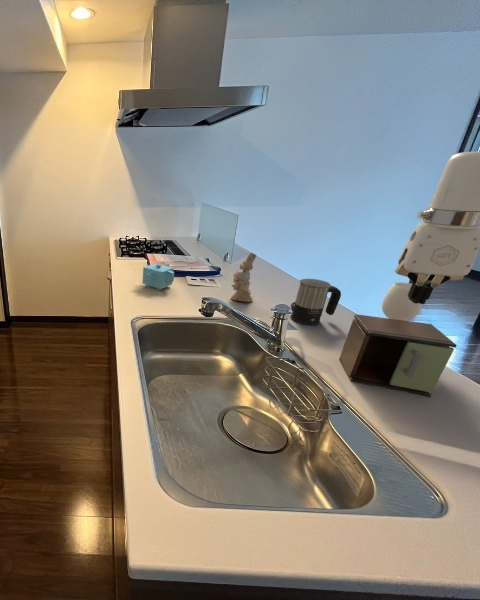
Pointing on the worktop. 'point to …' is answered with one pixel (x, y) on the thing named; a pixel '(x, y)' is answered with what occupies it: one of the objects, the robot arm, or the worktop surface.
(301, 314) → the milk frother
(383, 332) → the cupboard
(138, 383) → the worktop surface
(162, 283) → the teapot
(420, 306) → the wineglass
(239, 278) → the figurine
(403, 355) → the sliding door
